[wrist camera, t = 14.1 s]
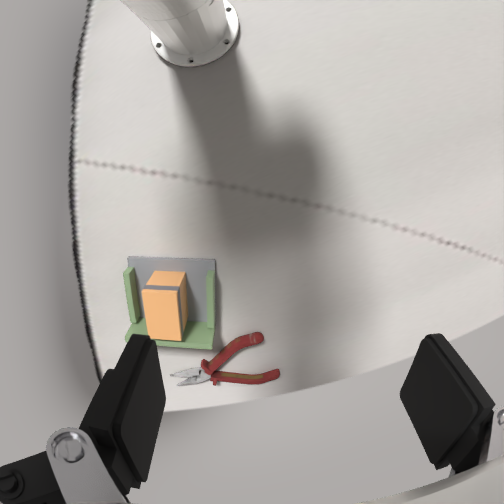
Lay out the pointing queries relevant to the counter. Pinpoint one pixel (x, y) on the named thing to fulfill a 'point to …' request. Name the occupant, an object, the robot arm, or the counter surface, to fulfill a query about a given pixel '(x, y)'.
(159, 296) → the chute block
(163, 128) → the counter surface
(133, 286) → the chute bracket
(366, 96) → the counter surface
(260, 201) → the counter surface
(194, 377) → the pliers
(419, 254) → the counter surface
